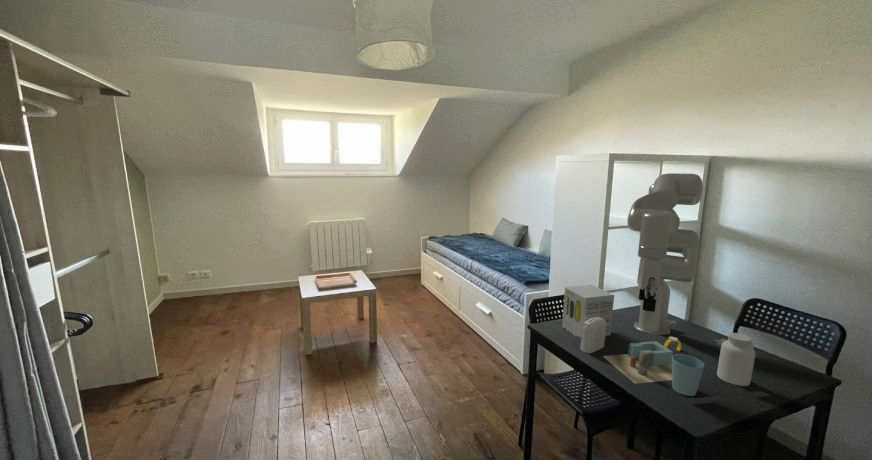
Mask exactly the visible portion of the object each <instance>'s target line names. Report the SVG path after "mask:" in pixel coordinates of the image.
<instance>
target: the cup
mask: <svg viewBox="0 0 872 460" xmlns="http://www.w3.org/2000/svg"><path fill="white" fill-rule="evenodd" d="M704 369H705V363H704V362H703V361H702V360H701V359H699V358H697V357H694V356H692V355H688V354H683V353H675V354H673V355H672V380H671V388H672V389H673V390H674V391H675V392H676V393H679V394H680V395H683V396H687V397H688V398H687V400H693V399H695V397H694V396H696V395H697V392H698V389H699V386H700V381H701V379H702V375H703V372H704Z"/></svg>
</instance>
